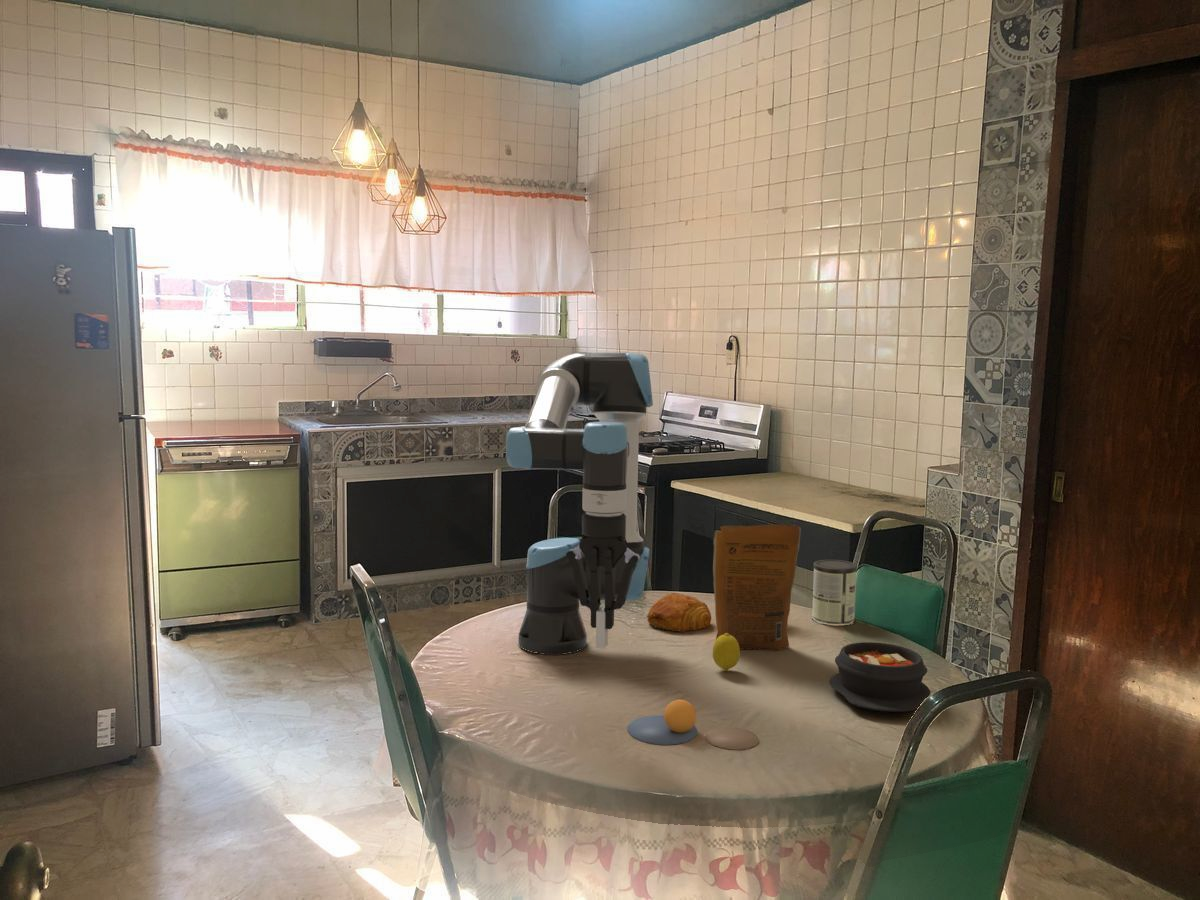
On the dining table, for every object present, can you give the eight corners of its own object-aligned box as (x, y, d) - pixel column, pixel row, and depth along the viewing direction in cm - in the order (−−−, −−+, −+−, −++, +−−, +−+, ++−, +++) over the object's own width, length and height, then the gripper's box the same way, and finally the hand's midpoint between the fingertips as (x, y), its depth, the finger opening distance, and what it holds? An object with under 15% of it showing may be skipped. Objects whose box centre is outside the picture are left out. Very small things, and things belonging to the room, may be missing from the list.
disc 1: (620, 740, 156) (620, 738, 156) (635, 713, 168) (635, 712, 168) (691, 748, 153) (691, 747, 153) (701, 720, 165) (701, 719, 165)
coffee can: (813, 612, 234) (815, 557, 233) (855, 617, 231) (858, 561, 230) (808, 623, 225) (811, 566, 223) (852, 628, 221) (855, 570, 220)
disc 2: (701, 746, 155) (701, 744, 155) (709, 725, 163) (709, 723, 163) (756, 752, 152) (756, 751, 152) (760, 731, 161) (760, 730, 161)
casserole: (937, 726, 164) (940, 681, 163) (829, 715, 169) (831, 670, 168) (923, 678, 189) (925, 638, 188) (828, 669, 193) (830, 630, 192)
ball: (672, 743, 158) (657, 716, 158) (674, 728, 163) (659, 702, 163) (701, 730, 157) (685, 703, 156) (702, 715, 162) (687, 689, 162)
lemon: (738, 676, 188) (739, 638, 187) (710, 674, 189) (712, 636, 188) (739, 667, 193) (741, 630, 192) (713, 665, 194) (714, 628, 193)
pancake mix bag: (798, 653, 202) (803, 527, 199) (710, 651, 203) (714, 524, 200) (793, 644, 209) (798, 521, 206) (708, 641, 210) (712, 519, 207)
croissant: (675, 620, 234) (673, 588, 234) (722, 626, 222) (720, 592, 222) (633, 629, 224) (631, 596, 224) (680, 636, 212) (678, 601, 213)
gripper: (561, 513, 157) (559, 649, 160) (636, 518, 154) (633, 656, 157) (573, 506, 165) (571, 636, 167) (645, 511, 161) (642, 643, 164)
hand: (601, 646), depth 162 cm, fingers closed
